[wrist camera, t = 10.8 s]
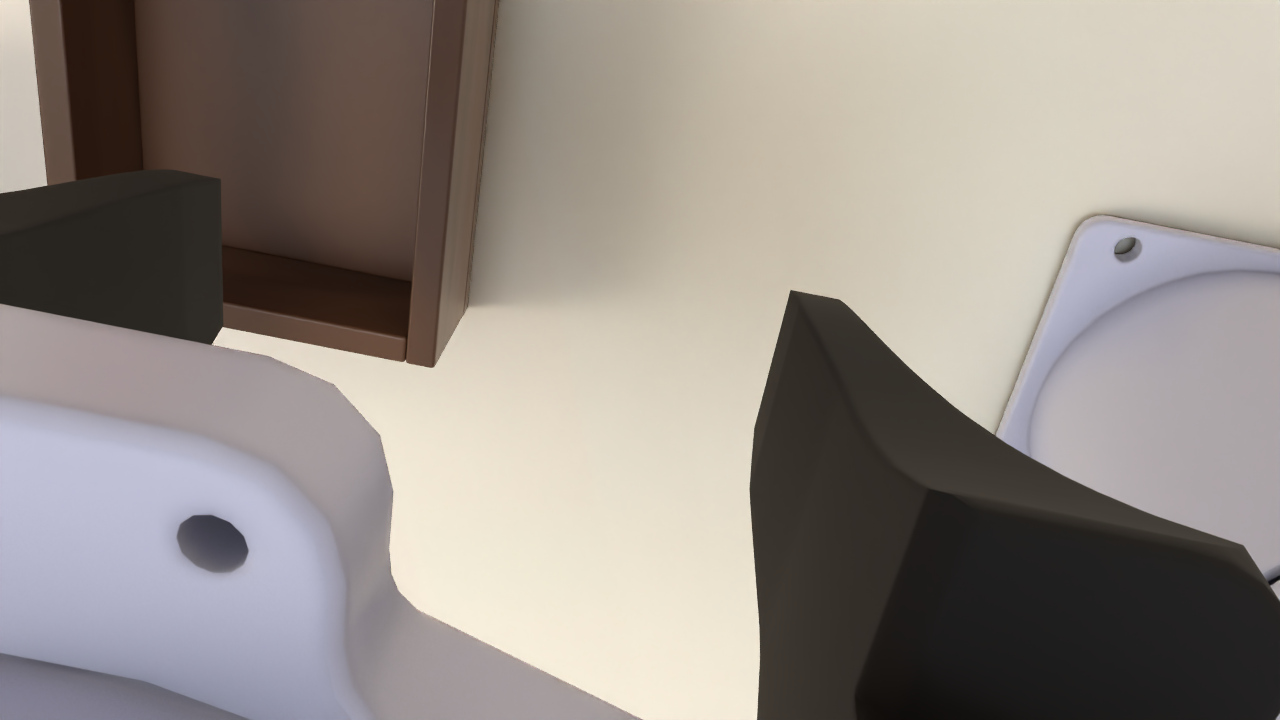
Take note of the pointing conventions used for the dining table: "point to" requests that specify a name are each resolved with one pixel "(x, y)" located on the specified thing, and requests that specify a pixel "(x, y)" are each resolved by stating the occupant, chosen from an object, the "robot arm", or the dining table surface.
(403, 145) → the organizer
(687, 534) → the dining table surface
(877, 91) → the dining table surface
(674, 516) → the dining table surface
